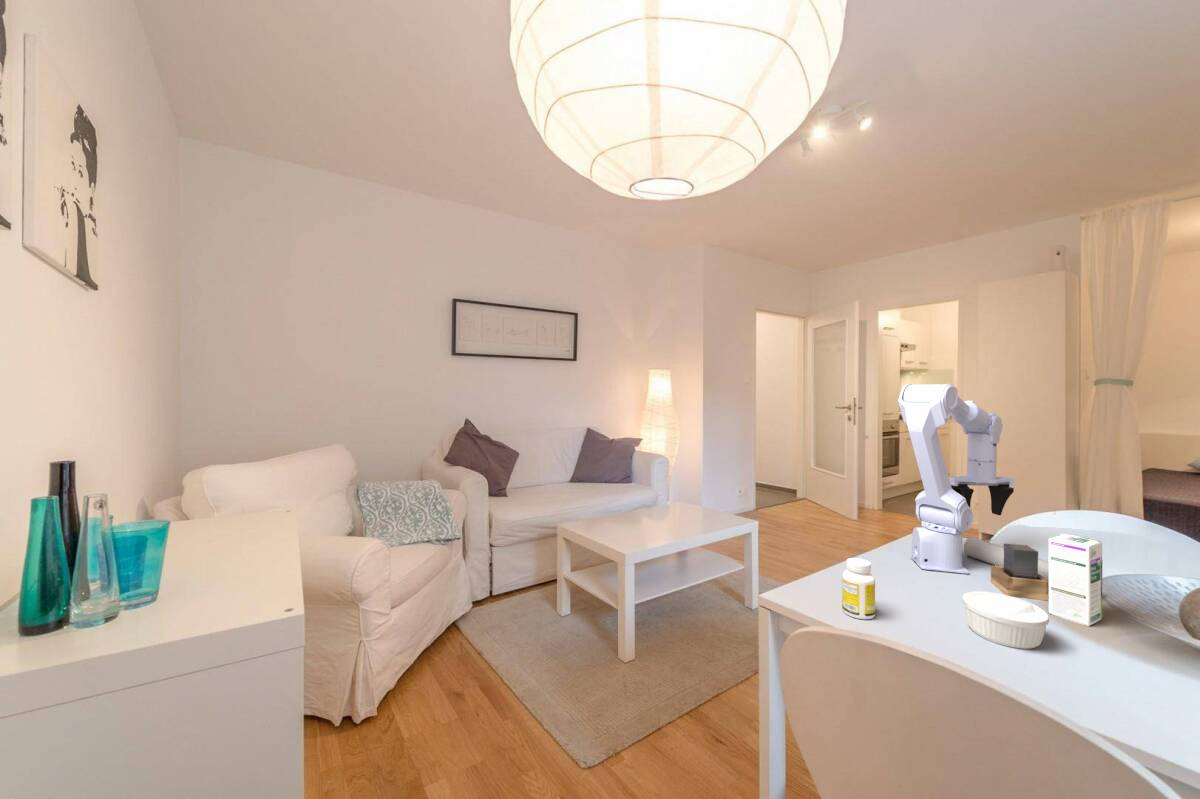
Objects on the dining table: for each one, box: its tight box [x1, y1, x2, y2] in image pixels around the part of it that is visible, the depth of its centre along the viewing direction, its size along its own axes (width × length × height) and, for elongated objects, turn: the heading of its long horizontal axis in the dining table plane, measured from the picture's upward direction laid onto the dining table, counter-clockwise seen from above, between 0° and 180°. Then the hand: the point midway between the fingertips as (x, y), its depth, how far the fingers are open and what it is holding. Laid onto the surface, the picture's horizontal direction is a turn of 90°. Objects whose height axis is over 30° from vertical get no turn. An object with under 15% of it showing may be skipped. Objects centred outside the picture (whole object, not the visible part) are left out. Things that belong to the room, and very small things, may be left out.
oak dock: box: [990, 564, 1049, 602], centre depth 98 cm, size 7×7×4 cm
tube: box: [962, 536, 1049, 580], centre depth 106 cm, size 5×5×25 cm
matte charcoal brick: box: [1003, 543, 1039, 580], centre depth 98 cm, size 4×4×8 cm
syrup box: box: [1048, 533, 1103, 627], centre depth 87 cm, size 6×6×14 cm
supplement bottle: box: [841, 557, 876, 620], centre depth 88 cm, size 5×5×10 cm
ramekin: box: [962, 590, 1050, 650], centre depth 81 cm, size 11×11×5 cm
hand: (980, 514), depth 119 cm, fingers open, 7 cm apart
